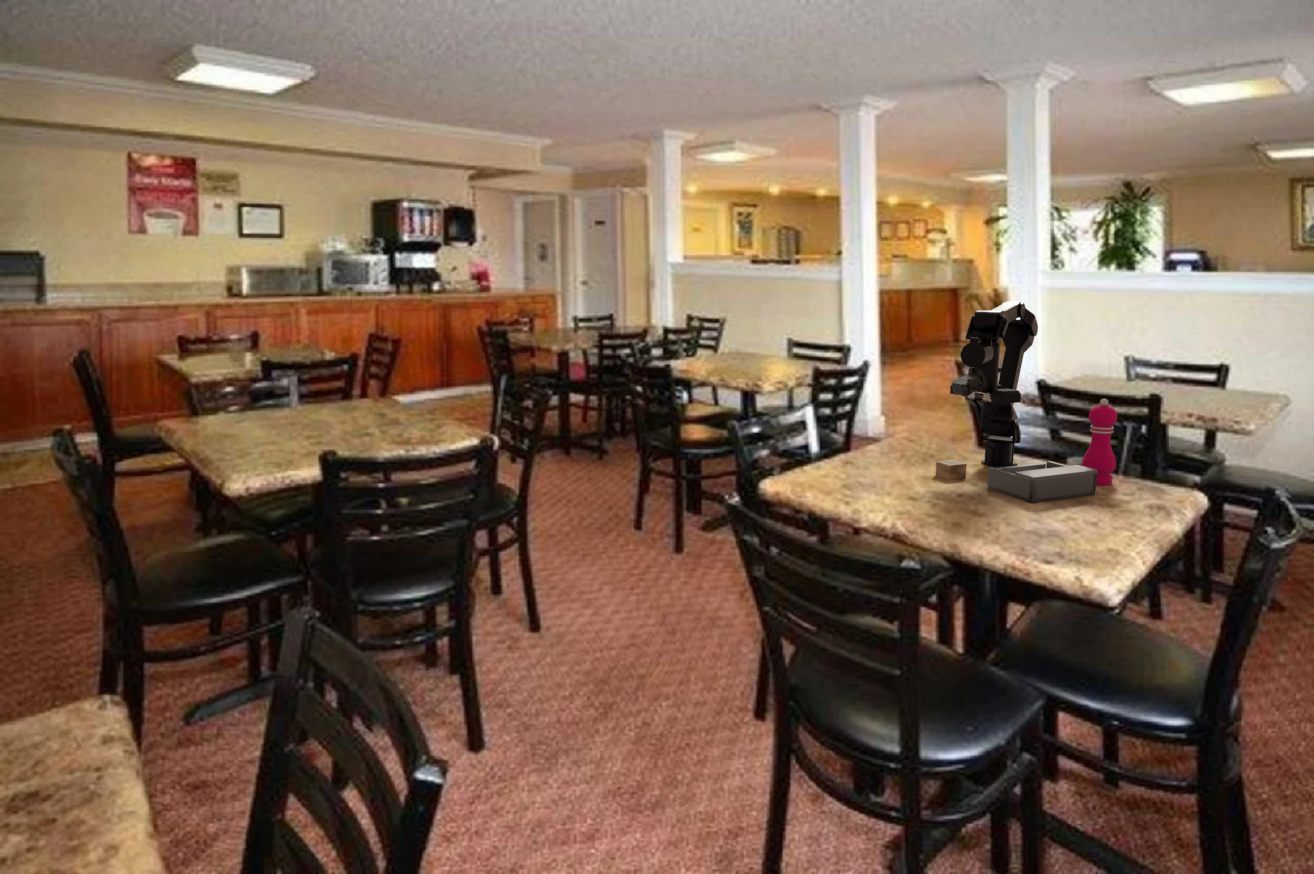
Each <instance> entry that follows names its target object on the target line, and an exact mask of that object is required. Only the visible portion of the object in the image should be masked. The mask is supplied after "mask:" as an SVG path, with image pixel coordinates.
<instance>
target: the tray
mask: <svg viewBox="0 0 1314 874" xmlns="http://www.w3.org/2000/svg"><path fill="white" fill-rule="evenodd" d="M995 468H996V469H1000V470H1003V471H1006V472H1010V473H1013V474H1015V472H1020V471H1029V470H1038V469H1046V463H1043V462H1040V463H1039V462H1038V463H1030V464H1024V465H1023V464H1021V465H1016V466H1007V467H995Z"/></svg>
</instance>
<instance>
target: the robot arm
mask: <svg viewBox="0 0 1314 874" xmlns="http://www.w3.org/2000/svg"><path fill="white" fill-rule="evenodd" d="M966 330H967V331H966V333H965V334H966V335H965V337H964V338H965V340H969V343H967V344H965V345H964V346H963V347H962V349H961V351H960V354H959V355H960V360H961V361H962V363H963V365H965V366H967V367H969V368H968V369H967V370H968V373H967V374H965V375H962V376H960V377H958V378H956V379H954V380H952V381H951V385H950V387H949V394H950V395H955V396H960V397H961V396H962V397H965V400H966V401H968V402H969V403H970V404H971V405H972V407H973V409H974V412H975V416H976V419H977V422H978V426H979V428H980V437H981V441H986V446H985V448H984V460H981V461H980V462H981V464H985V465H988V466H991V467H994V468H1002V467H1011V466H1018V462H1014V456H1015V444H1021V438H1022V430H1021V427H1020V424H1019V422H1018V418H1019V417H1018V415H1017V412H1016V410H1015V407H1014V404H1017V403H1021V402H1022V393H1021V392H1020V390H1018V389H1017V388H1018V384H1019V379H1020V374H1021V369H1022V365H1023V359H1024V356H1025V355H1024V354H1025V352H1027V351H1028V350H1029V348H1030V347H1032V345H1033V343H1034V340H1035V337H1037V336H1038V333H1039V332H1038V331H1039V324H1038V320H1037V318H1036V315H1035V314H1034V313H1033V312H1031V311H1030V310H1029V309H1027V308H1026V305H1025V302H1021V301H1005V302H1002V303H1001V304H1000V305H998V306H996V307H994V308H993V309H991V310H987V309H984V310H980V309H977V310H976V311H975V312H974V313H973V314H972V316H971V317H970V321H969V323H968V327H967V329H966ZM1002 342H1003V345H1004V347H1005V349H1004V352H1003V353H1004V354H1003V359H1002V364H1001V367H1000V357H1001V356H1000V355H1001V354H1000V353H1001V343H1002Z"/></svg>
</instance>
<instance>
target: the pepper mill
mask: <svg viewBox="0 0 1314 874" xmlns="http://www.w3.org/2000/svg"><path fill="white" fill-rule="evenodd" d="M1099 404H1100V405H1096V406H1093V407H1092V408H1091V410H1089V413H1088V419H1089V420H1088V421H1090V423H1091V424H1090V426H1089V427H1090V429H1089V431H1090V432H1091V439H1090V444H1089V447H1088V449H1087V450H1086V451H1085V454H1084V455H1083V457H1082V461H1081V466H1084V467H1088V468H1092V469H1096V470H1097V481H1096V486H1109V485H1112V483H1113V475H1112V474H1111V473H1113V472H1114V471H1115V469H1116V468H1117V460H1116V457H1115V454H1114V452H1113V448H1112V443H1111V439H1112V438H1111V437H1112V434H1113V433H1114V432H1115V431H1114V429H1115V427H1114V426H1113V425H1114V424H1116V422H1117V420H1118V412H1117V410H1116V409H1115V408H1113V407H1112V406H1111V405H1109V400H1108V399H1106V398H1101V399H1100V401H1099Z"/></svg>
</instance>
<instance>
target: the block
mask: <svg viewBox="0 0 1314 874" xmlns="http://www.w3.org/2000/svg"><path fill="white" fill-rule="evenodd" d="M935 476H937V477H940V478H943V479H945V480H948V481H949V480H959V479H966V478H967V463H965V462H963V461H962V462H961V461H959V460H955V459H947V460H938V461H937V460H936V462H935Z"/></svg>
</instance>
